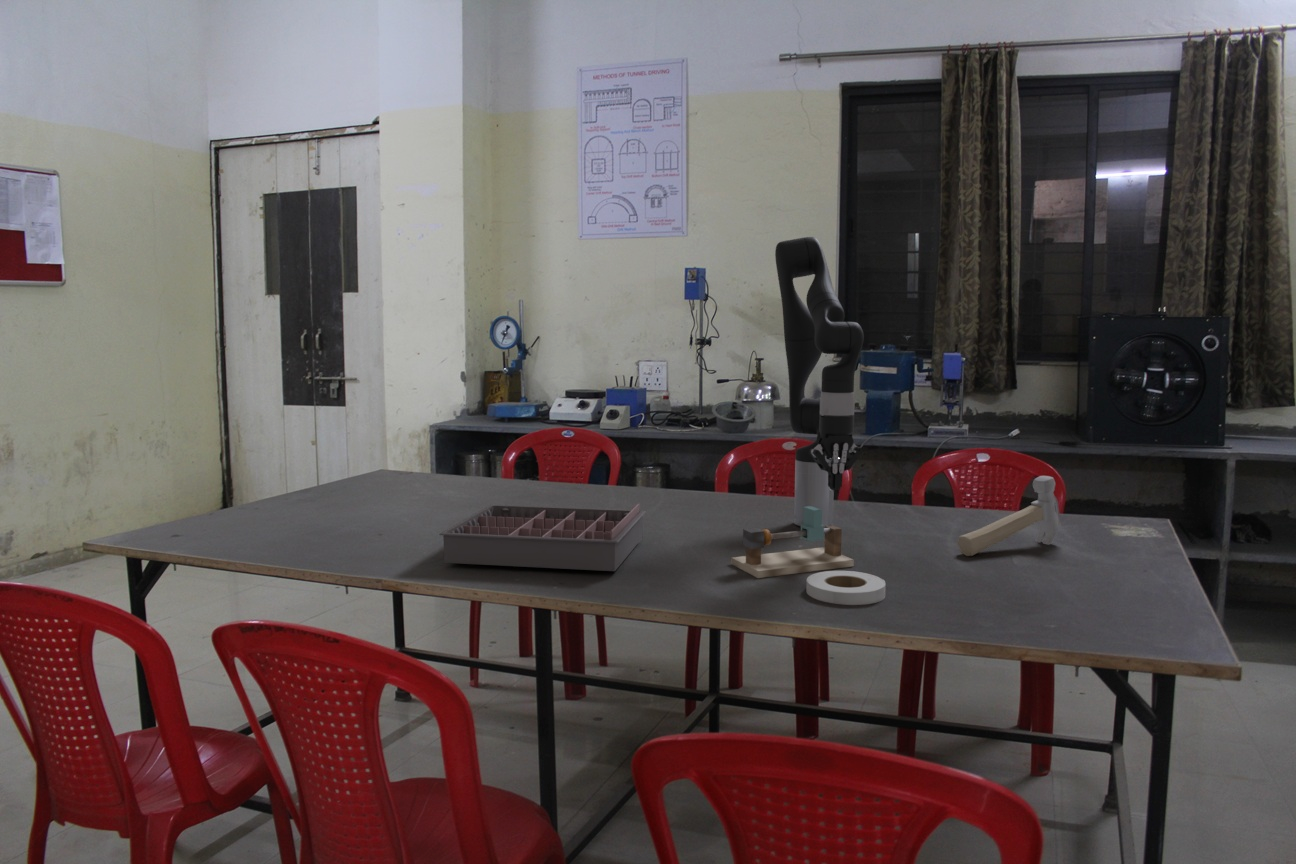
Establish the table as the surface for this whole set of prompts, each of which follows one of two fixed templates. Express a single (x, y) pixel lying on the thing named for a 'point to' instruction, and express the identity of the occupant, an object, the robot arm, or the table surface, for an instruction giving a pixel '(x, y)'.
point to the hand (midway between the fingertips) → (834, 489)
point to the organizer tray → (545, 537)
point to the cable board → (790, 554)
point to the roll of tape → (846, 587)
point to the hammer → (1019, 521)
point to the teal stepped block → (812, 524)
